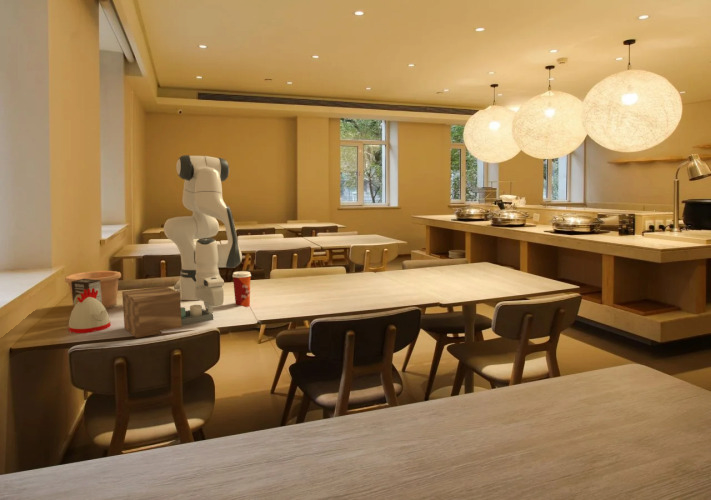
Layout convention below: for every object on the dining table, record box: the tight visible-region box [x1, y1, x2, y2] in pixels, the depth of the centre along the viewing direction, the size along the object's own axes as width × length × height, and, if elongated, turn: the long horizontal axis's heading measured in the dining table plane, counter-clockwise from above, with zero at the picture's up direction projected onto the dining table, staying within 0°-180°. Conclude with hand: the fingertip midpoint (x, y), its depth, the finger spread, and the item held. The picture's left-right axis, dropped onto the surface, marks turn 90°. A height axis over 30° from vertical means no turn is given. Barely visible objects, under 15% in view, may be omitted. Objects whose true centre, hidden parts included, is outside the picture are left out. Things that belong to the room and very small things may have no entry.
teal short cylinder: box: [181, 306, 187, 319], centre depth 191 cm, size 4×4×5 cm
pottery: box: [64, 270, 122, 310], centre depth 219 cm, size 22×22×14 cm
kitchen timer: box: [68, 288, 111, 334], centre depth 186 cm, size 14×14×15 cm
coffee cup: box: [231, 270, 252, 308], centre depth 219 cm, size 8×8×15 cm
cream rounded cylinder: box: [189, 304, 203, 318], centre depth 195 cm, size 4×4×5 cm
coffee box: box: [71, 279, 102, 308], centre depth 197 cm, size 9×6×16 cm
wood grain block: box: [121, 285, 183, 339], centre depth 184 cm, size 16×16×14 cm
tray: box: [181, 308, 214, 326], centre depth 193 cm, size 12×15×3 cm
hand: (209, 312), depth 198 cm, fingers closed, pressing on tray
